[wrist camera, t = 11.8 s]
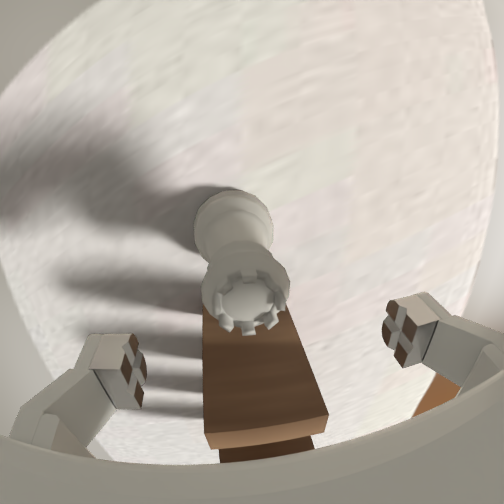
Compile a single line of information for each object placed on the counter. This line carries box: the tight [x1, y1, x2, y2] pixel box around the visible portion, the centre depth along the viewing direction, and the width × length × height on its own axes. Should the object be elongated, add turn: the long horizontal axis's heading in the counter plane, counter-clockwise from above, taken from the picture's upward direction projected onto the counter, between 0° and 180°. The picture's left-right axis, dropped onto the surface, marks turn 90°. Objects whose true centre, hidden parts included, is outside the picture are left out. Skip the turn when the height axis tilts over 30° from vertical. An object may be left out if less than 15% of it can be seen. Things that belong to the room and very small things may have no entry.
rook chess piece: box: [193, 190, 290, 336], centre depth 13 cm, size 4×4×8 cm
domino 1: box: [202, 304, 329, 449], centre depth 15 cm, size 2×5×10 cm, turn 93°
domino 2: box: [219, 436, 315, 463], centre depth 17 cm, size 2×5×10 cm, turn 94°
